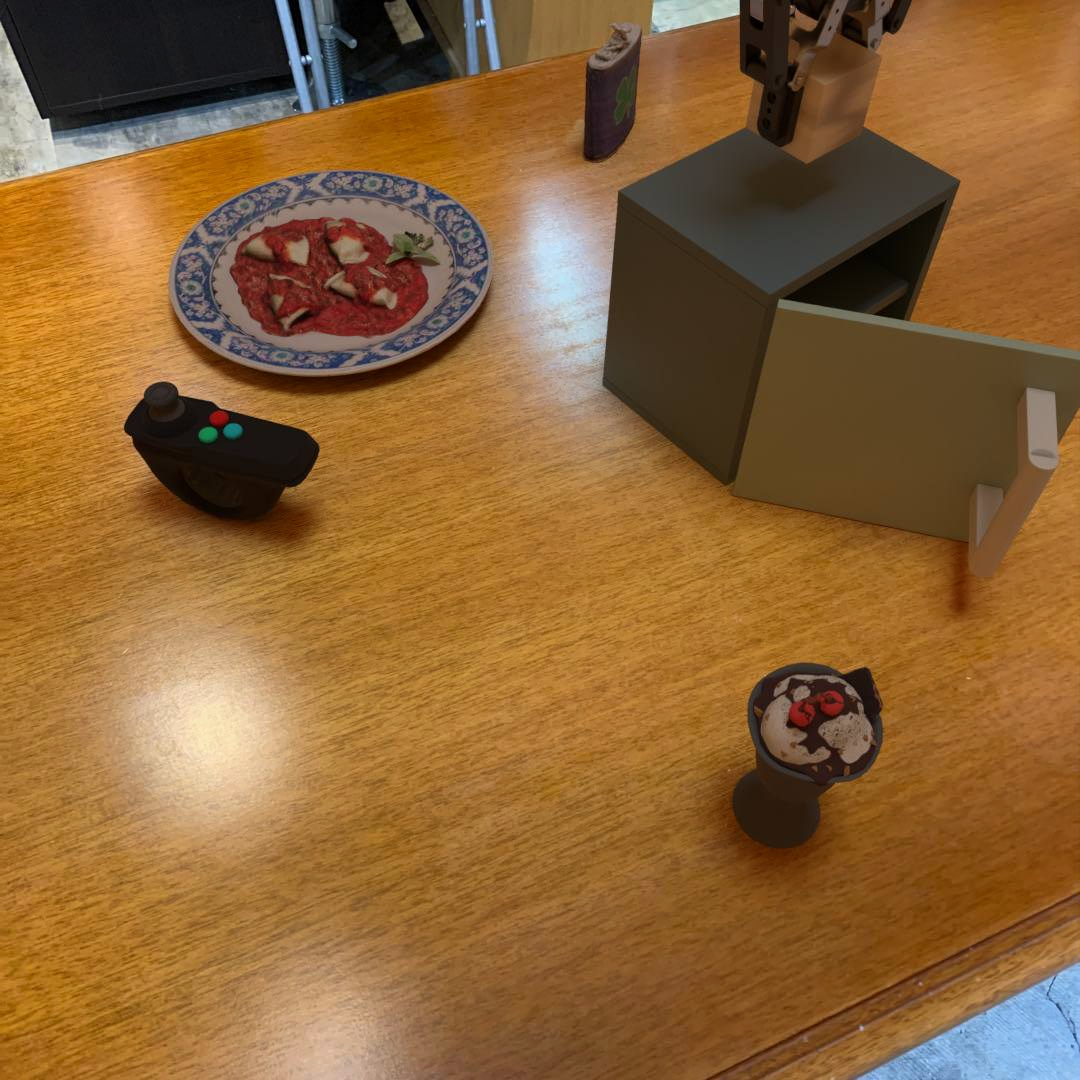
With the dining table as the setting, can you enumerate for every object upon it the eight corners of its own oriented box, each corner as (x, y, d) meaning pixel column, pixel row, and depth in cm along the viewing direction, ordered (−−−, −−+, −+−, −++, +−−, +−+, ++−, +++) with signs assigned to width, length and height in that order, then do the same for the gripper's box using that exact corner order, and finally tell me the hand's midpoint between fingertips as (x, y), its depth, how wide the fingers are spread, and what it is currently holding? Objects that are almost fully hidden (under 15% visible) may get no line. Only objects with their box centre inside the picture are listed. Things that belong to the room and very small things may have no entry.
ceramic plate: (173, 416, 79) (163, 386, 77) (175, 207, 95) (167, 177, 92) (520, 372, 83) (520, 342, 80) (467, 177, 98) (466, 147, 96)
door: (999, 625, 69) (1113, 445, 56) (718, 566, 71) (763, 381, 58) (999, 540, 73) (1104, 354, 60) (733, 487, 76) (778, 298, 62)
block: (799, 100, 68) (816, 21, 64) (861, 135, 66) (883, 55, 62) (744, 127, 66) (759, 48, 62) (806, 164, 64) (825, 84, 60)
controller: (176, 465, 76) (137, 359, 68) (339, 505, 74) (318, 401, 66) (146, 510, 74) (101, 406, 66) (314, 553, 72) (288, 450, 64)
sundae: (713, 855, 59) (762, 724, 47) (720, 746, 63) (767, 599, 52) (835, 874, 59) (915, 746, 47) (834, 763, 63) (908, 619, 51)
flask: (615, 109, 105) (624, -2, 97) (643, 117, 105) (654, 6, 96) (576, 158, 100) (582, 45, 92) (605, 166, 99) (614, 54, 91)
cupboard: (889, 374, 83) (961, 180, 70) (725, 487, 76) (770, 294, 62) (765, 289, 89) (808, 95, 76) (601, 385, 82) (617, 190, 68)
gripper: (841, -139, 48) (770, 196, 61) (1032, -211, 53) (929, 110, 67) (718, -190, 51) (677, 138, 64) (910, -252, 57) (836, 61, 70)
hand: (806, 122), depth 66 cm, fingers closed on block, 5 cm apart
